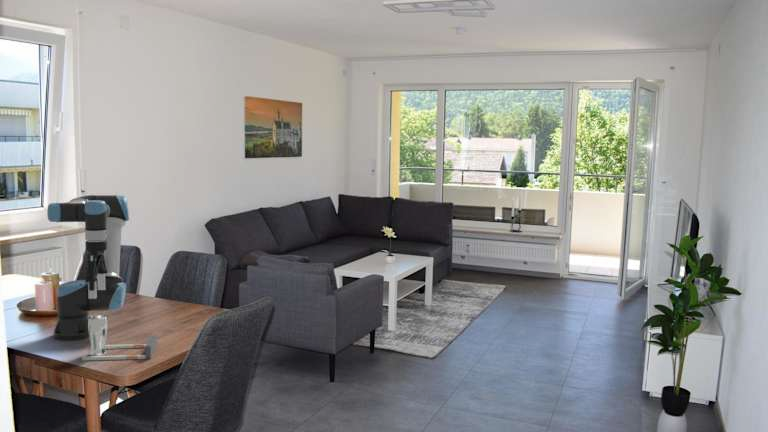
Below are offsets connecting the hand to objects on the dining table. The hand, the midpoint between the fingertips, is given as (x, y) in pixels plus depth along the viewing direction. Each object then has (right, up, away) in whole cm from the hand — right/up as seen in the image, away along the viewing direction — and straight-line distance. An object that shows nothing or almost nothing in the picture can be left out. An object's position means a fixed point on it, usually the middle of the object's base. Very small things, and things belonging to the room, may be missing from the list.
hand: (97, 294), depth 249 cm
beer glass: (-1, -24, +3) cm, 25 cm away
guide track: (+7, -24, +5) cm, 25 cm away
